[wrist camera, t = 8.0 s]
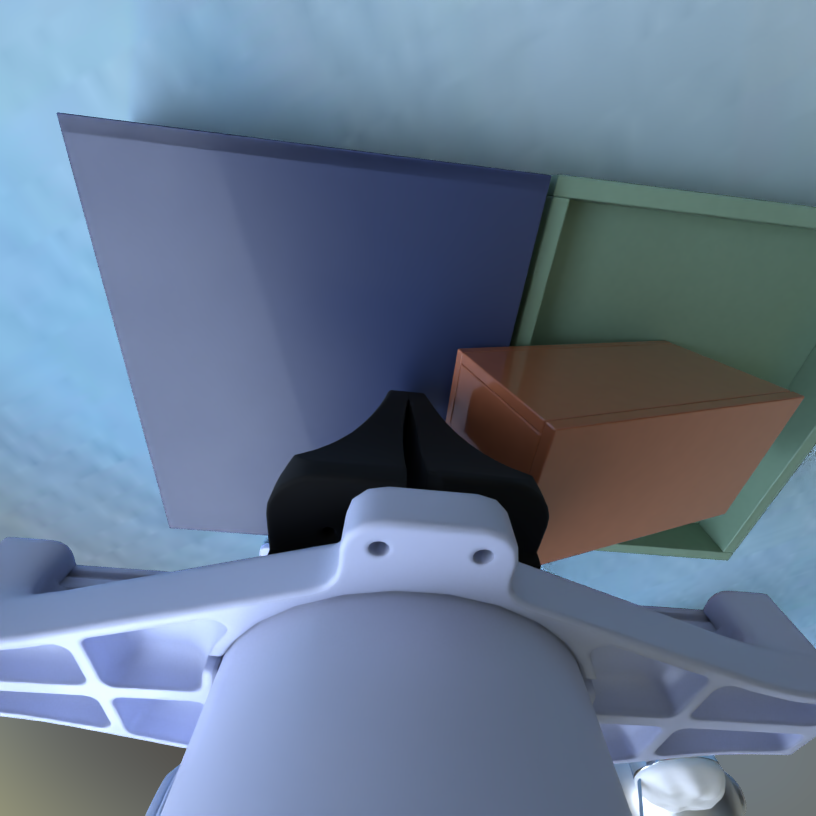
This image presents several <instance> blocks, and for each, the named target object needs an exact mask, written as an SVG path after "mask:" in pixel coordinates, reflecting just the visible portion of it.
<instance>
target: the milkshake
mask: <svg viewBox="0 0 816 816" xmlns="http://www.w3.org/2000/svg"><path fill="white" fill-rule="evenodd" d="M629 766H630V769H631V773H632V776H633V779H634V782H635V786H636V788H637V790H638V798H639V812H640V816H644V811H643V798H642V796H643V797H644V798H645V799H646V800H648V801H649V802H650V803H652V804H654V805H656V806H658V807H661V808H663V809H666V810H668V811H671V812H674V813H678V812H681V811H685V810H705V809H710V808H712V807H713V806H714V805H715V804H716V803H717V802H719V801H720V799H721V798H722V797H723V795H724V792H725V774H724V771H723V769H722V767H721V766H720V764H719V763H718V761H717V759H716V758H715V756H714V755H710V756H696V757H683V758H672V759H662V760H651V761H641V762H631V763H629Z"/></svg>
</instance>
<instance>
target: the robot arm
mask: <svg viewBox="0 0 816 816" xmlns="http://www.w3.org/2000/svg"><path fill="white" fill-rule="evenodd" d="M266 517H267V528H268V539H269V543H265V544H263V545H262V546H261V549H260V556H259V557H253V558H248V559H242V560H236V561H230V562H225V563H219V564H213V565H208V566H202V567H196V568H190V569H185V570H179V571H173V572H167V571H153V570H139V569H126V568H112V567H98V566H84V565H76V563H75V559H74V556H73V553H72V551H71V550H70V549H69V547H68V546H67V545H65V544H63V543H61V542H59V541H54V540H45V539H31V538H18V537H6V538H5V539H4V540H2V541H1V542H0V716H6V717H13V718H21V719H29V720H37V721H43V722H49V723H55V724H62V725H68V726H73V727H79V728H84V729H89V730H94V731H99V732H105V733H110V734H115V735H120V736H126V737H131V738H136V739H141V740H146V741H152V742H157V743H162V744H167V745H172V746H178V747H183V748H187V750H186V752H185V755H184V757H183V760H182V762H181V764H180V765H178V766H177V767H176V768H175V769H173V770H172V771H171V772H170V773H168V774H167V776H166V777H165V778H164V780H163V782H162V783H161V785H160V787H159V789H158V791H157V793H156V795H155V796H154V798H153V801H152V803H151V805H150V807H149V809H148V811H147V813H146V815H145V816H632V813H631V810H630V808H629V805H628V802H627V799H626V797H625V794H624V791H623V788H622V785H621V783H620V780H619V777H618V774H617V772H616V769H615V766H614V764H620V763H631V762H641V761H651V760H662V759H672V758H683V757H696V756H710V755H736V754H765V755H769V754H770V755H791V754H793V753H794V752H795V751H797V750H798V749H800V748H801V747H802V746H804V745H805V744H806V743H808V742H809V741H811V740H812V739H813V738H815V737H816V649H815V648H814V646H813V645H812V644H811V643H810V642H809V641H808V640H807V639H806V638H805V636H804V635H803V634H802V633H801V632H800V631H799V630H798V629H797V627H796V626H795V625H794V624H793V623H792V622H791V621H790V620H789V619H788V617H787V616H786V615H785V614H784V613H783V612H782V611H781V610H780V608H779V607H778V606H777V605H776V604H775V603H774V602H773V601H772V599H771V598H770V597H769V596H768V595H767V594H763V593H751V592H737V591H722V592H719V593H716V594H715V595H713V596H712V597H711V598H710V599H709V600H708V602H707V603H706V605H705V607H704V609H703V610H695V609H682V608H668V607H654V606H640V605H637V604H634V603H631V602H628V601H626V600H623V599H620V598H617V597H614V596H612V595H609V594H606V593H603V592H601V591H598V590H595V589H592V588H590V587H587V586H584V585H581V584H579V583H576V582H573V581H570V580H567V579H565V578H562V577H559V576H556V575H554V574H551V573H548V572H545V571H543V570H540V567H541V563H540V560H539V557H538V554H537V551H538V549H539V546H540V544H541V541H542V539H543V536H544V534H545V531H546V529H547V526H548V521H549V511H548V506H547V504H546V501H545V499H544V497H543V495H542V493H541V490H540V488H539V487H538V485H537V483H536V481H535V480H534V478H533V476H531V475H529V474H526V473H524V472H521V471H518V470H516V469H513V468H511V467H508V466H506V465H504V464H502V463H500V462H498V461H496V460H494V459H492V458H491V457H489V456H487V455H485V454H484V453H482V452H481V451H479V450H478V449H476V448H475V447H473V446H472V445H470V444H469V443H468V442H467V441H465V440H464V439H463V438H462V437H461V436H459V435H458V434H457V433H456V432H455V431H454V430H453V429H452V428H451V427H450V426H449V425H448V424H447V423H446V422H445V421H444V419H443V418H442V417H441V416H440V415H439V413H438V412H437V411H436V409H435V408H434V407H433V405H432V404H431V402H430V401H429V399H428V398H427V396H426V395H425V394H424V393H417V392H407V391H397V390H390V391H389V392H388V393H387V395H386V397H385V399H384V400H383V402H382V403H381V404H380V406H379V407H378V408H377V409H376V410H375V412H374V413H373V414H372V415H371V416H370V417H369V418H368V419H367V420H366V421H365V422H364V423H363V424H362V425H360V426H359V427H358V428H357V429H355V430H354V431H353V432H351V433H350V434H348V435H346V436H345V437H343V438H341V439H339V440H338V441H336V442H333V443H331V444H329V445H326V446H324V447H321V448H318V449H315V450H312V451H308V452H304V453H301V454H296V455H294V456H293V458H292V459H291V460H290V462H289V463H288V464H287V466H286V467H285V469H284V470H283V472H282V473H281V475H280V476H279V478H278V480H277V482H276V484H275V486H274V488H273V491H272V493H271V495H270V498H269V500H268V502H267V510H266Z"/></svg>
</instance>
